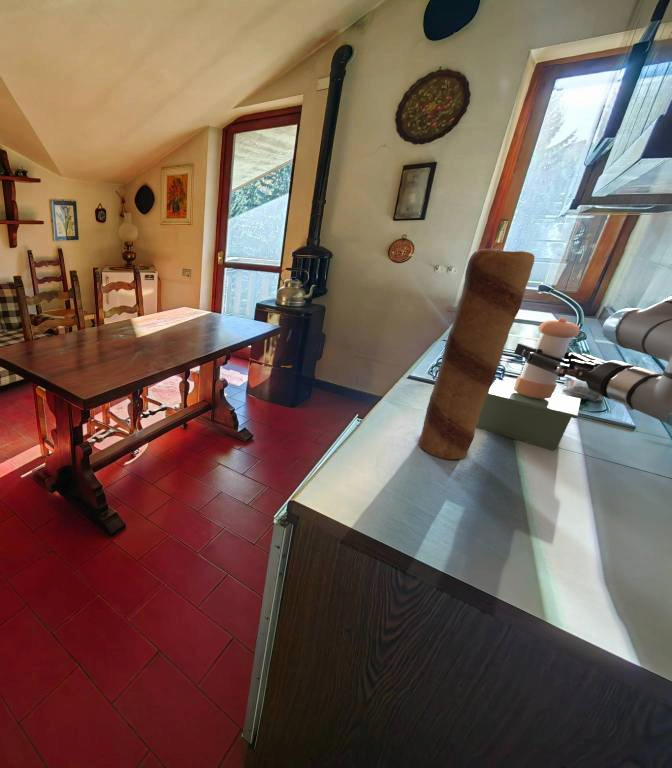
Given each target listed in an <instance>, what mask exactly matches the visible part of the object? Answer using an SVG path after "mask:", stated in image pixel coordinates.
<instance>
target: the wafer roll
mask: <svg viewBox="0 0 672 768" xmlns="http://www.w3.org/2000/svg"><path fill="white" fill-rule="evenodd" d="M535 257H536V256H535V255H534V253H532V252H529V251H522V250H518V251H515V250H514V251H513V250H512V251H511V250H510V251H509V250H507V251H506V250H503V249H496V248H481V249H478V250H476V251H474V252H473V253H472V254H471V256H470V257H469V259H468V262H467V265H466V269H465V274H464V283H463V287H462V292H461V296H460V298H459V301H458V304H457V306H456V311H455V313H454V317H453V321H452V325H451V328H450V330H449V332H448V335H447V339H446V342H445V345H444V349H443V355H442V358H441V362H440V365H439V369H438V372H437V376H436V379H435V382H434V385H433V389H432V392H431V394H430V397H429V401H428V404H427V407H426V413H425V416H424V420H423V425H422V429H421V434H420V437H419V439H418V443H417V444H418V446H419V448H420V449H421V450H424V451H425V452H427V453H428V454H430V455H432V456H434V457H437V458H439V459H441V460H442V459H443V460H463V459H465V458H466V457H467V455H468V452H469V449H470V447H471V445H472V443H473V441H474V438H475V433H476V429H477V427H476V426H477V423H478V420H479V415H480V413H481V410H482V408H483V404H484V401H485V399H486V397H487V395H488V393H489V390H490V387H491V386H492V384H493V383H494V382H495V378H496V375H497V373H498V372H497V371H498V369H499V365H500V361H501V359H502V357H503V355H504V348H505V346H506V343H507V341H508V339H509V334H510V331H511V329H512V327H513V325H514V322H515V319H516V317H517V315H518V313H519V311H520V309H521V306H522V302H523V299H524V296H525V293H526V289H527V286H528V283H529V281H530V277H531V274H532V270H533V267H534V263H535Z"/></svg>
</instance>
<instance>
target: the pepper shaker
mask: <svg viewBox="0 0 672 768" xmlns="http://www.w3.org/2000/svg"><path fill="white" fill-rule="evenodd" d="M538 332H539V333H540V334H539V336H538V339H537V341H536V344H535V346H534V348H535V349H542V351H543V352H542V353H545V354H548V355H552V356H555V357H559V358H563V359H564V356H565V353H566V351H567V350H568V348H569V346H570V343H571V341H572V338H576V337H577V336H578V335H579V334H580V333H581V328H580V327H579V325H578V324H576V323H574V322H571V321H568V319H567V318H566V317H559V318H558V319H551V320H545V321H543V322H542V323H540V325H538ZM558 379H559V376H557V375H556V374H554V373H552V372H549V371H547V370H544V369H542V368H539V367H537V366H534V365H532V364H529V363H527V360H526V361H525V362H524V365H523V367H522V371H521V373H520V374H519V375H518V376H517V378H516V380H515V382H514V384H515V385H514V387H513V390H515V391H516V392H518V393H520V394H523V395H526V396H530V397H535V398H542V399H548V398H551V397H552V394H553V393H555V390H556V388H557V386H558V385H557V380H558Z"/></svg>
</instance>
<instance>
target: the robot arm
mask: <svg viewBox="0 0 672 768" xmlns="http://www.w3.org/2000/svg"><path fill="white" fill-rule="evenodd" d="M602 334H603V337H604V338H605V340H607V341H608V342H610V343H611V344H614V345H617V346H619V347H621V348H623V349H627V350H632V351H634V352H638V353H640V354H644V355H647V356H649V357H653V358H655V359H658V360H662V361H665V362H666V363H667V365H666V367H665V368H664V370H663V372H662V373H659V372H656V371H653V370H650V369H648V368H645V367H640V366H637V365H634V364H631V363H628V362H625V361H621V360H608V361H607V360H604V359H601V358H598V357H595V356H592V355H589V354H587V353H581V355H580V354H579V353H577V352H570V351H566V353H565V356H564V359H563V358H559V357H555V356H552V355H548V354H545V353H542V352H543V351H542V349H535V347H532V346H530V345H527V344H523V343H517V344H516V347H515V349H514V353H513V354H515V355H517V356H519V357H522V358H524V359H526V361H527V363H529V364H532V365H534V366H537V367H539V368H542V369H544V370H547V371H549V372H552V373H554V374H556V375H557V376H558V378H565V377H566V376H569V377H572V378H575V379H576V380H577V381H586V383H587V386H588V388H589V389H590V391H592V392H593V393H596V394H598V395H601V396H603V398H605V399H607V400H612V401H613V402H615V403H618V404H620V405H623V406H626V410H629V411H634V410H635V411H638V412H640V413H642V414H645V415H647V416H649V417H651V418H653V419H656V420H658V421H660V422H663V423H664V424H666V425H668V426H670V427H672V296H670V297H668V298H666V299H664V300H661V301H660V302H657V303H655V304H653V305H651V306H649V307H647V308H623V309H621V310H618V311H616V312H614V313H612V314H610V316H609V317H608V318H607V319H606V320H605V321H604V323H603V326H602Z"/></svg>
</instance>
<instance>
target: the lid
mask: <svg viewBox="0 0 672 768" xmlns="http://www.w3.org/2000/svg"><path fill="white" fill-rule="evenodd" d="M514 385H515V382H514V383H513V382H509V381H504V380H501V379H495V380H494V381H493V383H492V385H491V387H490V390H489V393H488V395H487V396H489V397H493V398H497V399H501V400H505V401H509V402H513V403H517V404H521V405H524V406H528V407H532V408H536V409H540V410H544V411H548V412H552V413H556V414H560V415H564V416H568V417H571V419H577V418H578V415H579V412H580V411H579V410H580V406H581V400H582V399H580V398H576V397H572V396H569V395H567V394H562V393H557V392H553V394H552V397H551V398H548V399H542V398H535V397H530V396H526V395H523V394H520V393H518V392H516V391H515V390H513V387H514Z"/></svg>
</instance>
